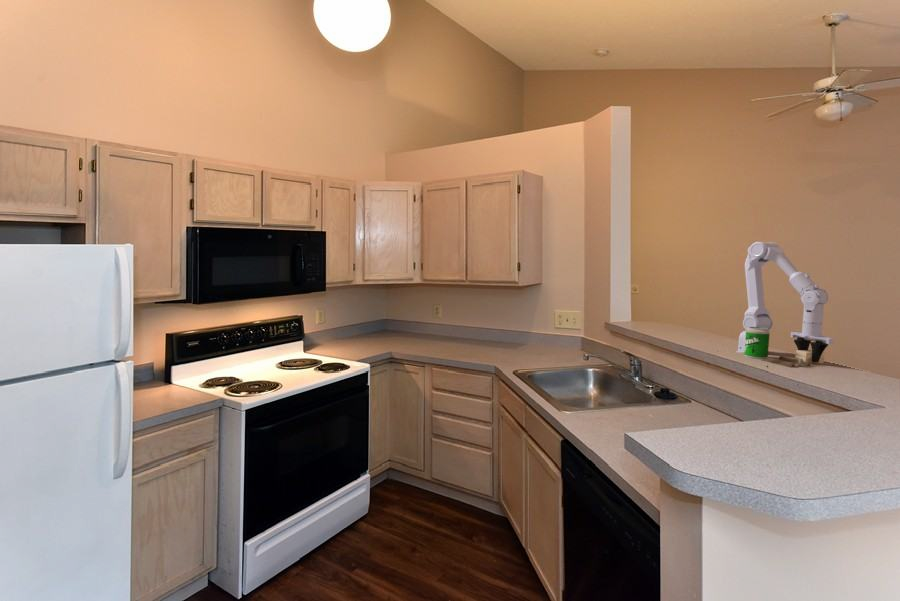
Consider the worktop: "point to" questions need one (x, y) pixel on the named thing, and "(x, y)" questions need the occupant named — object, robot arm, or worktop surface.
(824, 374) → the worktop surface
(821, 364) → the cradle
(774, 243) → the robot arm
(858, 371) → the worktop surface
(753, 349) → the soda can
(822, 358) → the birch bar
